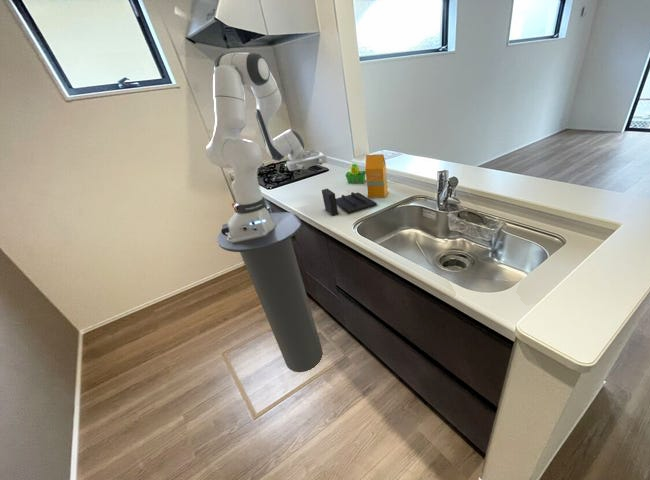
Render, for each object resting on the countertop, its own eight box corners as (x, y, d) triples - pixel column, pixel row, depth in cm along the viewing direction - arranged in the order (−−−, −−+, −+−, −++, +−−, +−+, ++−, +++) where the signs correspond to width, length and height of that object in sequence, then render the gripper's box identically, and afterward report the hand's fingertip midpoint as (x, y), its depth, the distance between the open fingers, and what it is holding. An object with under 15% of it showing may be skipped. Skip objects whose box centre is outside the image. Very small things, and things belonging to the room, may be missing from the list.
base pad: (349, 214, 138) (348, 207, 136) (332, 201, 153) (331, 195, 151) (376, 205, 143) (376, 199, 141) (358, 194, 158) (357, 188, 156)
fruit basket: (367, 179, 178) (365, 159, 171) (365, 184, 170) (362, 164, 164) (348, 180, 180) (346, 160, 173) (345, 185, 172) (342, 165, 166)
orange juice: (384, 197, 151) (381, 156, 139) (368, 197, 153) (363, 157, 141) (387, 192, 157) (385, 152, 145) (371, 192, 159) (367, 152, 147)
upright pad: (332, 215, 138) (328, 195, 133) (325, 210, 145) (321, 189, 139) (338, 214, 139) (334, 193, 134) (331, 208, 146) (327, 188, 140)
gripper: (281, 157, 149) (289, 163, 138) (319, 149, 155) (329, 153, 145) (285, 170, 152) (292, 176, 142) (322, 161, 159) (332, 167, 149)
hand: (311, 165), depth 144 cm, fingers open, 8 cm apart
